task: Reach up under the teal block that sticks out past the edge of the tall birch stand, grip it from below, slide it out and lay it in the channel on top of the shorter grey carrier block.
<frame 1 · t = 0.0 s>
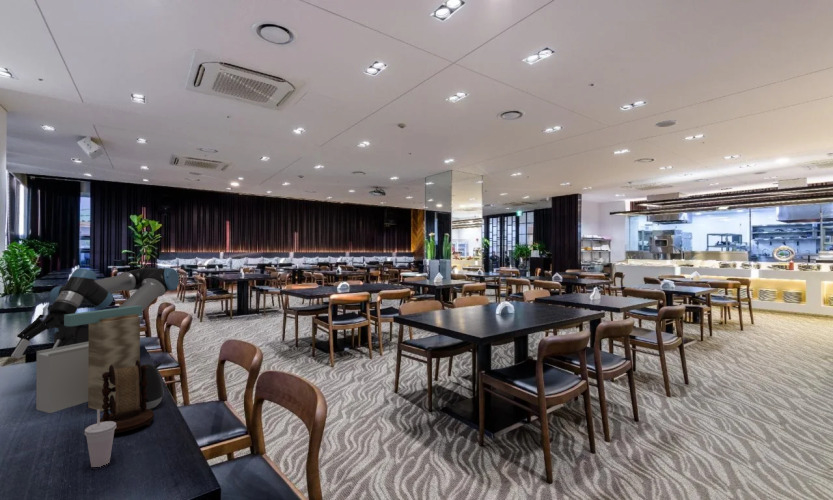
hand: (33, 357, 139), 15 cm above the table, tool tilted 35°, fingers open, 13 cm apart
carrier block: (71, 402, 138), on the table
teal block: (105, 320, 135), point 30 cm above the table, touching birch stand
pump dispenser: (146, 408, 134), on the table
scroll: (125, 427, 120), on the table
birch stand: (114, 402, 138), on the table
smoothie: (100, 464, 99), on the table
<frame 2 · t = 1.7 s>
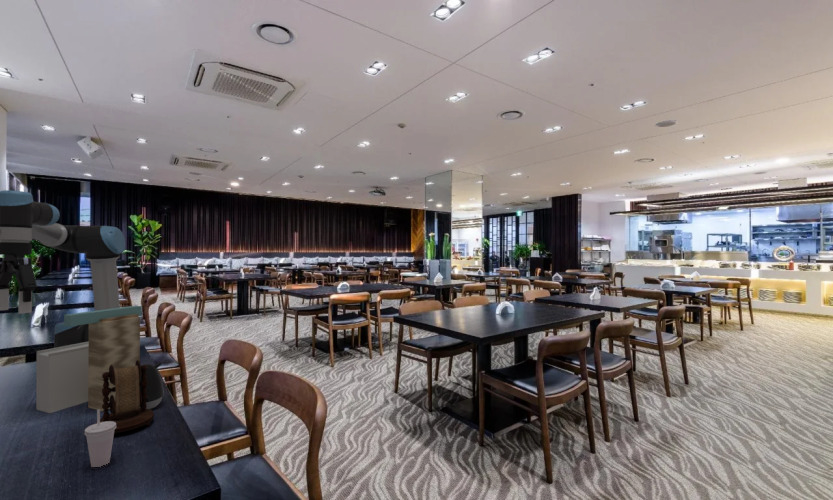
hand: (13, 311, 118), 36 cm above the table, tool pointing down, fingers open, 13 cm apart
nothing on the table moved.
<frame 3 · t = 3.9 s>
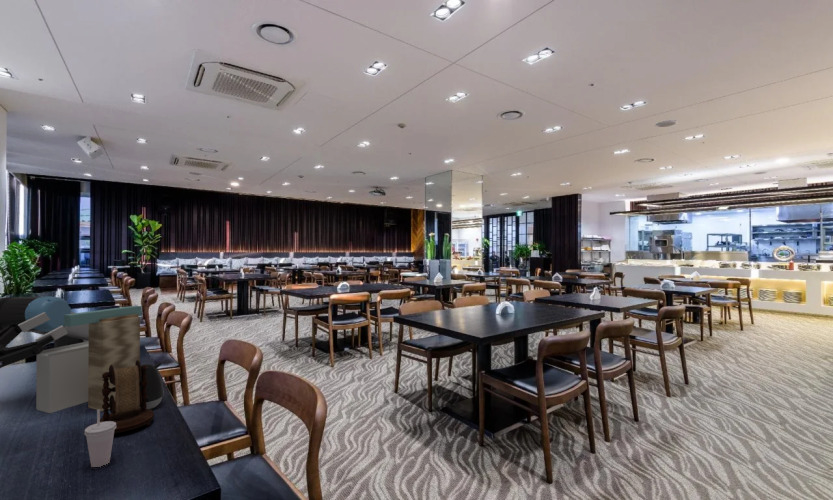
hand: (56, 322, 116), 33 cm above the table, tool pointing upward, fingers open, 13 cm apart
nothing on the table moved.
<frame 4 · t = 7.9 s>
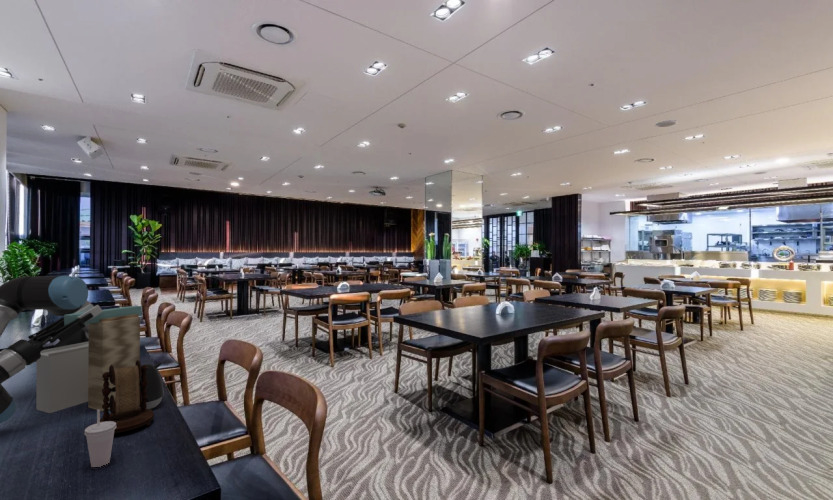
hand: (96, 307, 132), 35 cm above the table, tool pointing upward, fingers closed on teal block, 3 cm apart
teal block: (105, 320, 135), point 30 cm above the table, touching birch stand, gripper
everything else where it was.
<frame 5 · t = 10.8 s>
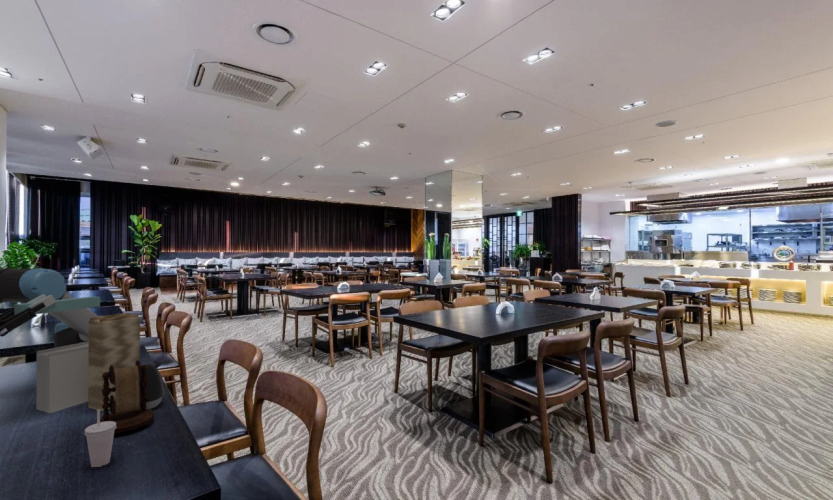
hand: (49, 297, 129), 38 cm above the table, tool pointing upward, fingers closed on teal block, 3 cm apart
teal block: (60, 310, 132), point 34 cm above the table, touching gripper
everything else where it was.
when the fingers open (25 cm above the table, at t = 14.0 s): teal block drops 1 cm, resting on carrier block.
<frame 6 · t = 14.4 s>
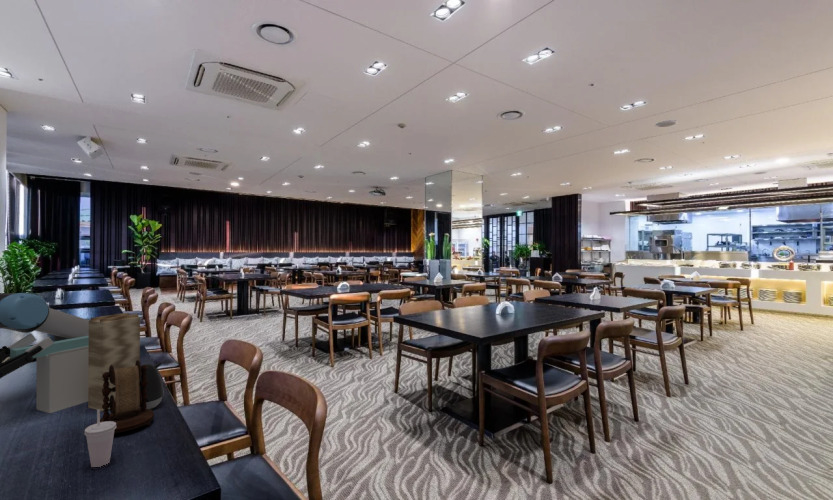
hand: (42, 338, 130), 25 cm above the table, tool pointing upward, fingers open, 10 cm apart
teal block: (56, 352, 133), point 19 cm above the table, touching carrier block
everything else where it was.
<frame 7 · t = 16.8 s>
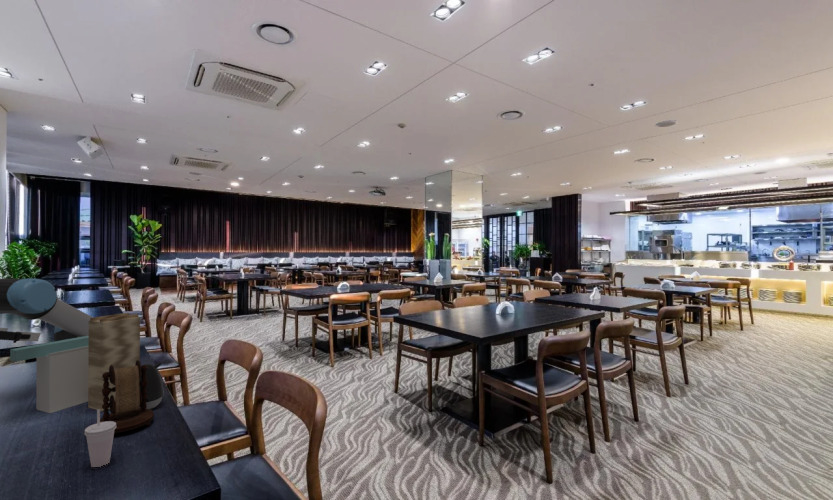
hand: (22, 334, 128), 26 cm above the table, tool tilted 75°, fingers open, 13 cm apart
nothing on the table moved.
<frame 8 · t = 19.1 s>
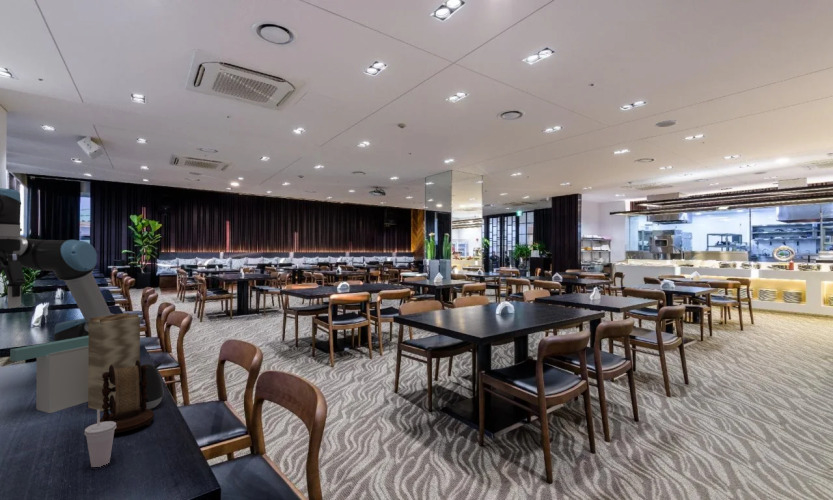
hand: (3, 306, 121), 37 cm above the table, tool pointing down, fingers open, 13 cm apart
nothing on the table moved.
at the end: teal block inside the target area on the carrier block (0.4 cm from its centre), point 19.0 cm above the carrier block's base; the gripper is holding nothing; teal block touching carrier block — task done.
